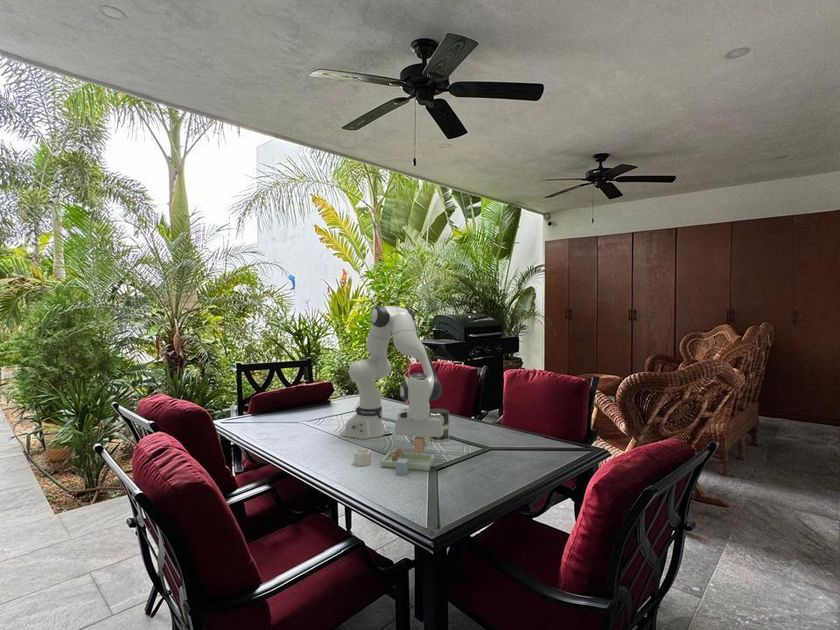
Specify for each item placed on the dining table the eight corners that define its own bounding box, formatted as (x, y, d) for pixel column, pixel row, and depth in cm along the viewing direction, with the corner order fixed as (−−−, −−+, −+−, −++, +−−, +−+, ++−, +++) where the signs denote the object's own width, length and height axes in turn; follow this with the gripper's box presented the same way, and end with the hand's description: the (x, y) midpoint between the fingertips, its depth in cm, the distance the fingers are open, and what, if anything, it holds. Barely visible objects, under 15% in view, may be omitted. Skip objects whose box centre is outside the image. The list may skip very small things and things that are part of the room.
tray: (381, 467, 180) (381, 461, 180) (389, 457, 191) (389, 451, 191) (429, 471, 176) (429, 464, 175) (434, 460, 187) (434, 454, 187)
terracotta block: (413, 451, 181) (413, 439, 181) (415, 448, 185) (415, 436, 185) (423, 451, 180) (423, 439, 180) (424, 448, 184) (424, 436, 184)
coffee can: (444, 442, 212) (444, 413, 212) (425, 439, 217) (425, 411, 217) (452, 437, 221) (452, 409, 221) (434, 434, 226) (434, 407, 226)
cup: (352, 465, 182) (352, 453, 182) (358, 459, 188) (358, 448, 188) (367, 466, 180) (367, 454, 180) (372, 461, 187) (372, 449, 187)
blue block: (396, 474, 172) (396, 462, 172) (398, 471, 176) (398, 458, 176) (406, 475, 171) (406, 462, 171) (408, 471, 175) (408, 459, 175)
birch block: (391, 463, 183) (391, 451, 183) (394, 459, 187) (394, 448, 187) (401, 463, 182) (401, 452, 182) (403, 460, 186) (403, 448, 186)
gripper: (445, 412, 183) (445, 445, 183) (397, 410, 187) (397, 442, 187) (442, 415, 177) (442, 449, 177) (393, 413, 181) (394, 446, 181)
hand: (419, 445), depth 182 cm, fingers closed on terracotta block, 4 cm apart
